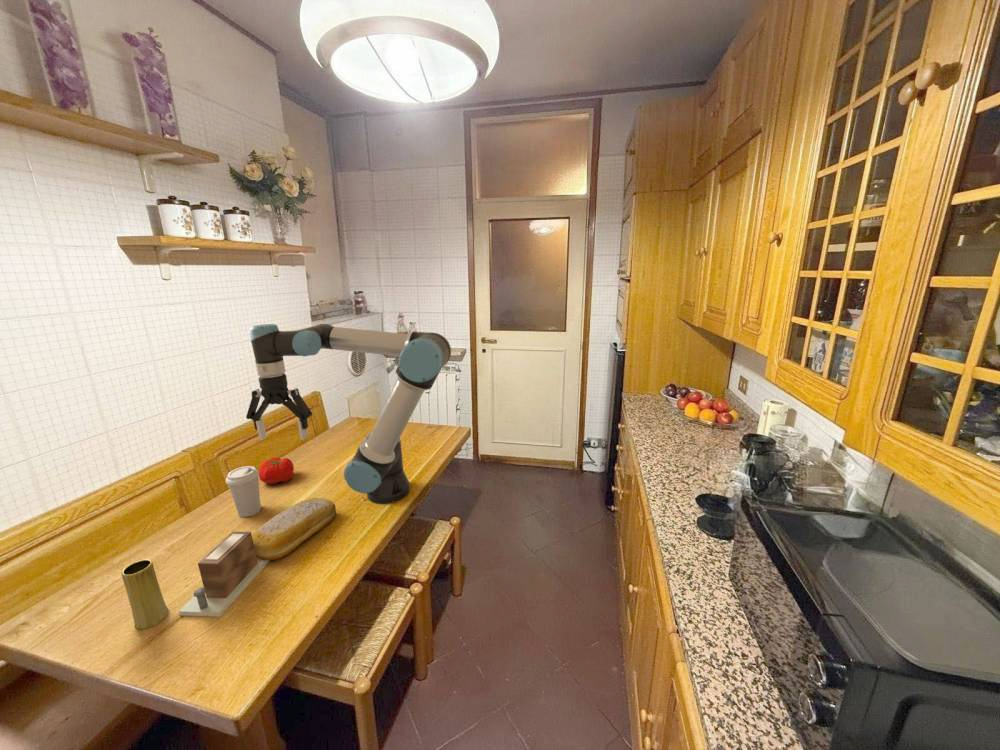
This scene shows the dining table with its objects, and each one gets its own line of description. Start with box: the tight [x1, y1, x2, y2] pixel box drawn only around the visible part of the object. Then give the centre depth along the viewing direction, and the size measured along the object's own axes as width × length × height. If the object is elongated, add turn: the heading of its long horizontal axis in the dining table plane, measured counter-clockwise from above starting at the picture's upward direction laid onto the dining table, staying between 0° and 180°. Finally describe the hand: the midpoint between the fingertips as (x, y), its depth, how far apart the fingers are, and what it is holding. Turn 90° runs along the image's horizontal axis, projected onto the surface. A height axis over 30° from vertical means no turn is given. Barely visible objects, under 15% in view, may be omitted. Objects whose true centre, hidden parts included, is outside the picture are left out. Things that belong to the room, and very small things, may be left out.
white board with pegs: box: [178, 556, 271, 618], centre depth 103 cm, size 10×20×6 cm, turn 176°
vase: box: [121, 559, 170, 630], centre depth 92 cm, size 6×6×14 cm
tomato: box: [258, 456, 295, 485], centre depth 155 cm, size 13×12×8 cm
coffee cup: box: [225, 465, 262, 518], centre depth 134 cm, size 10×10×15 cm
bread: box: [251, 497, 337, 561], centre depth 122 cm, size 13×26×8 cm, turn 164°
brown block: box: [197, 531, 258, 598], centre depth 102 cm, size 12×5×10 cm, turn 177°
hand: (283, 438), depth 129 cm, fingers open, 13 cm apart
